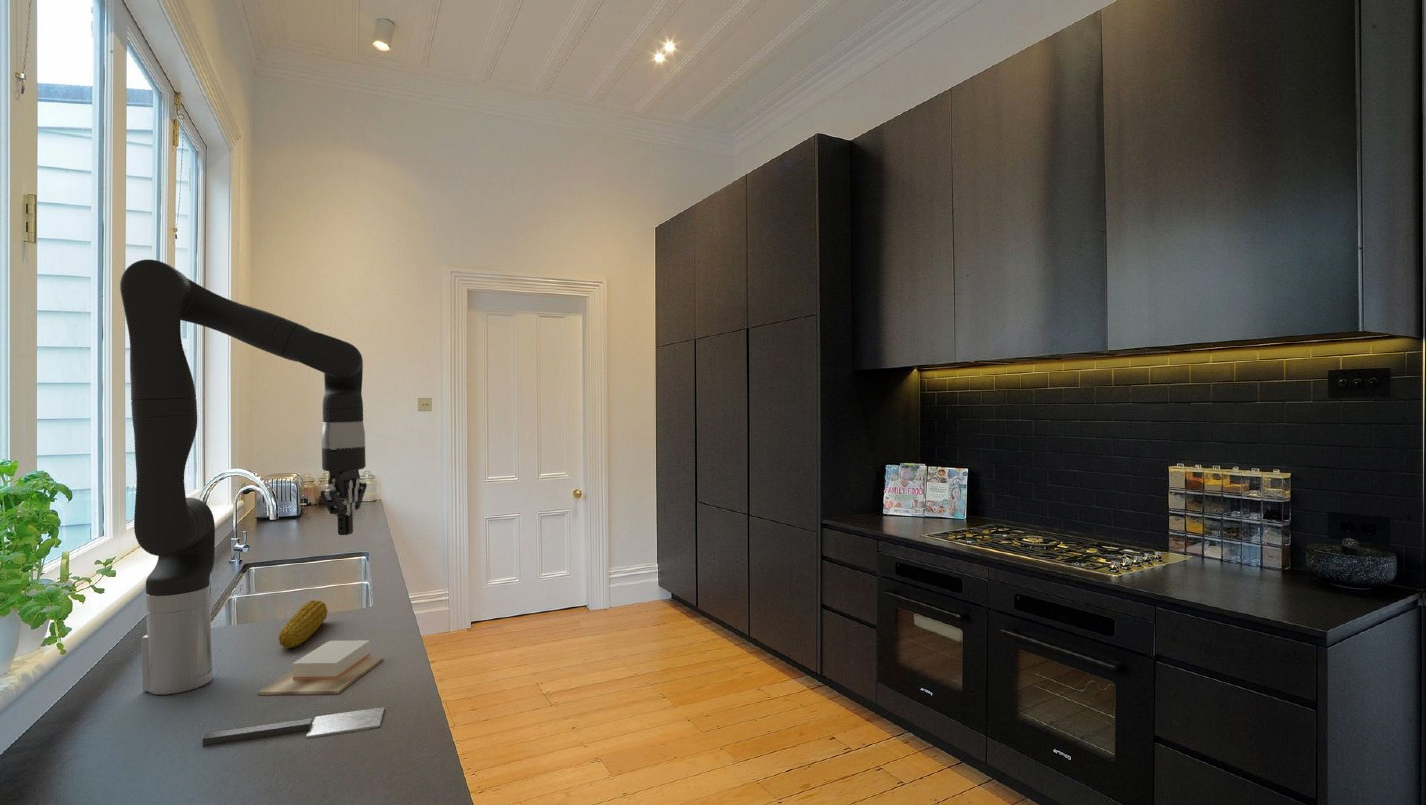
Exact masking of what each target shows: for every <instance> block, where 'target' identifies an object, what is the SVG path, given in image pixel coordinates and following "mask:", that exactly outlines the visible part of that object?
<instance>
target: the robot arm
mask: <svg viewBox="0 0 1426 805" xmlns="http://www.w3.org/2000/svg"><path fill="white" fill-rule="evenodd" d="M119 282H120V283H119V290H120V296H121V300H122V305H123V310H124V314H125V321H126V325H127V330H128V336H129V337H128V338H129V353H130V354H129V374H130V375H129V376H130V378H129V379H130V401H131V402H130V405H131V406H130V407H131V419H132V427H133V435H134V439H133V440H134V456H135V457H134V458H135V460H134V461H135V470H136V471H135V472H136V486H135V502H134V515H133V516H134V519H133V528H134V529H133V530H134V536H135V540H136V541H137V544H138V545H139V547H141V549H142V550H144V551H145V552H146V553H148V554H150V555H152V556H156V557H158V558H157V561H156V564H155V566H154V568H153V570H152V571H151V572H150V574H149V575H148V576H147V577H146V579H145V580H146V581H145V599H146V600H145V602H146V606H145V607H146V633H147V634H145V635H143V636H142V637H141V664H142V665H141V666H142V669H141V670H142V692H148V693H150V694H153V695H158V696H159V695H172V694H178V693H184V692H187V691H191V690H195V689H198V688H201V687H203V686H205V685H206V684H208V683H210V682H211V681H212V679H213V655H212V654H213V653H212V652H213V649H212V648H213V647H212V619H211V618H212V617H211V616H212V615H211V582H210V580H211V579H210V578H211V574H212V571H213V569H214V564H215V549H216V548H215V547H216V546H215V545H216V543H215V542H216V541H215V540H216V538H215V537H216V528H215V526H216V525H215V519H214V518H215V517H214V515H213V511H212V510H211V508H210V507H209V506H208V504H207V503H205V502H204V501H203V500H201V499H198V498H195V497H187V495H186V488H185V487H186V485H185V473H186V472H185V471H186V464H187V461H188V458H189V455H190V452H191V449H192V447H193V444H194V441H195V438H196V434H197V427H198V406H197V404H198V403H197V394H196V387H195V382H194V379H193V375H192V371H191V369H190V368H191V367H190V365H189V362H188V359H187V356H186V353H185V350H184V346H183V343H182V342H183V340H182V332H181V331H182V330H181V328H182V327H181V326H182V325H181V323H182V322H181V321H183V322H186V323H192V324H195V325H198V326H203V327H205V328H208V329H211V330H213V331H216V332H220V333H223V334H224V335H227V336H229V337H232V338H234V339H236V340H238V341H240V342H242V343H245V344H247V345H250V346H252V347H255V348H257V349H258V350H261V351H264V352H267V353H268V354H269V353H270V354H272V355H274V356H276V357H280V358H283V359H285V360H288V361H293V362H295V363H300V364H303V365H305V366H308V367H310V368H312V369H314V370H317V371H319V372H321V373H323V378H324V379H323V380H324V395H323V398H322V429H321V468H322V470H323V471H325V472H328V473H329V474H328V480H327V485H328V486H327V488H326V489H322V490H321V491H320V497H321V498H322V500H323V503H324V504H325V507H326V508H327V510H328V512H329V514H330V515H335V516H336V517H337V534H338V535H339V536H349V535H351V534H353V533H354V516H353V515H354V514H355V512H356V511H357V510H359V509H360V507H361V505H362V501H363V498H364V496H365V493H366V490H367V486H368V484H367V482H361V475H360V471H359V470H363V469H365V467H366V465H367V464H366V432H365V426H364V403H363V402H364V401H363V396H362V392H363V391H362V390H363V389H362V388H363V374H364V373H363V371H364V370H363V369H364V368H363V367H364V365H363V364H364V362H363V361H364V360H363V356H362V353H361V352H360V350H359V349H358V348H357V347H356V346H355V345H353V344H351V343H350V342H347V341H345V340H342V339H339V338H336V337H334V336H330V335H327V334H325V333H322V332H317V331H315V330H312V329H310V328H309V327H306V326H305V325H303V324H300V323H298V322H296V321H292V320H291V319H287V318H285V317H282V316H280V315H277V314H275V313H271V312H268V311H266V310H263V309H259V308H256V307H253V306H250V305H246V304H242V303H239V302H236V301H234V300H231V299H228V298H226V297H224V296H221V295H219V294H217V293H214V291H211V290H209V289H207V288H205V287H204V286H201V285H200V284H198V283H196V282H194V281H193V280H192V279H189V278H188V277H187V276H185V274H183V273H182V272H181V271H179V270H177V269H176V268H175V267H173V266H171V265H170V264H167V263H165V262H162V261H159V260H155V259H147V258H146V259H141V260H138V261H135V262H133V263H132V264H130V265H129V266H127V268H126V269H125V270H124V271H123V273H122V276H121V278H120V281H119Z"/></svg>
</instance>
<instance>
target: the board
mask: <svg viewBox="0 0 1426 805" xmlns="http://www.w3.org/2000/svg"><path fill="white" fill-rule="evenodd" d="M383 658H384V657H368V658H366V659H365V660H364V661H362V662H361V663H359V664H358V665H357V666H355V667H354V668H352V669H351V670H350V671H348V672H347V673H346V674H344V675H343V676H341V677H340V678H339V679H337V680H293V669H292V670H290V671H289V672H287V673H285V675H282V676H281V677H279V678H278V679H276V680H275V681H273V682H271V683H270V684H268V685H267V686H265V687H263V688H262V689H260V690H259V691H257V695H259V696H262V695H263V696H265V695H266V696H267V695H270V696H271V695H339V694H340V693H342V692H343V691H344V690H346V689H347V688H348V687H349V686H351V685H352V684H353V683H355V682H356V681H357V680H359V679H360V678H361V677H362V676H364V675H366V674H367V673H368V672H369V671H370V670H372V669H373V668H374V667H376V666H377V665H378V664H380V663H381V662H382V661H383V660H384V659H383Z"/></svg>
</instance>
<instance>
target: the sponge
mask: <svg viewBox="0 0 1426 805" xmlns="http://www.w3.org/2000/svg"><path fill="white" fill-rule="evenodd" d="M370 657H371V641H370V640H368V639H367V640H365V639H364V640H328V641H327V642H325V643H323V644H321V646H319V647H317V648H316V649H313V650H312V651H310V652H308V653H307V654H305V655H304V656H302V657H301V658H298V659H297V660H296V661H294V662H293V663H292V664H291V665H292V670H293V680H337V679H339V678H340V677H341V676H343V675H344V674H346V673H347V672H348V671H350V670H351V669H352V668H354V667H355V666H357V665H358V664H359V663H361V662H362V661H364V660H365V659H366V658H370Z"/></svg>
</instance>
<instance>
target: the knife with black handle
mask: <svg viewBox="0 0 1426 805" xmlns="http://www.w3.org/2000/svg"><path fill="white" fill-rule="evenodd" d="M384 712H385V706H383V707H374V708H368V709H367V708H366V709H361V710H354V711H347V712H340V713H333V714H332V713H331V714H326V715H318V716H315V717H314V719H313V718H305V719H297V720H291V721H290V720H289V721H282V722H275V723H270V724H261V725H256V726H255V725H254V726H248V727H240V728H234V729H227V730H219V731H213V732H207V733H206V734H205V735H204V736H203V738H202V748H204V747H205V748H206V747H209V746H210V747H211V746H216V745H224V744H230V743H238V742H245V741H251V740H258V739H260V740H261V739H265V738H271V737H280V736H285V735H287V736H288V735H293V734H298V733H299V734H300V733H306V732H307V733H306V735H305V736H306V737H305V738H306V739H310V738H312V739H313V738H317V737H323V736H331V735H332V736H333V735H337V734H345V733H350V732H351V733H353V732H359V731H366V730H371V729H370V728H373V729H378V728H377V727H379V728H380V727H381V724H382V719H383V717H382V716H384Z"/></svg>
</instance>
